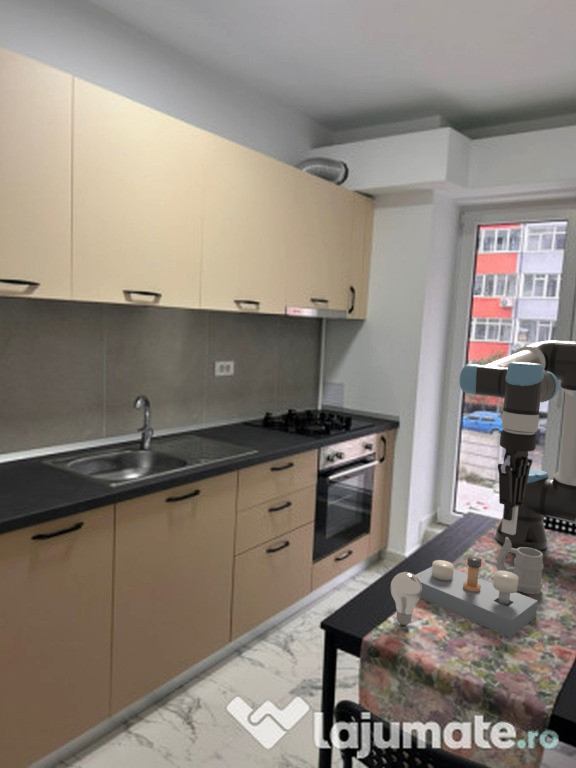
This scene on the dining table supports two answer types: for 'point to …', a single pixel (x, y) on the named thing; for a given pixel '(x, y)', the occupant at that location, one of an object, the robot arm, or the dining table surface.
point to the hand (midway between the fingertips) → (508, 532)
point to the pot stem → (472, 575)
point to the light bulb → (405, 595)
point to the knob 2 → (505, 585)
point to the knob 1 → (442, 570)
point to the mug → (523, 567)
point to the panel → (478, 602)
